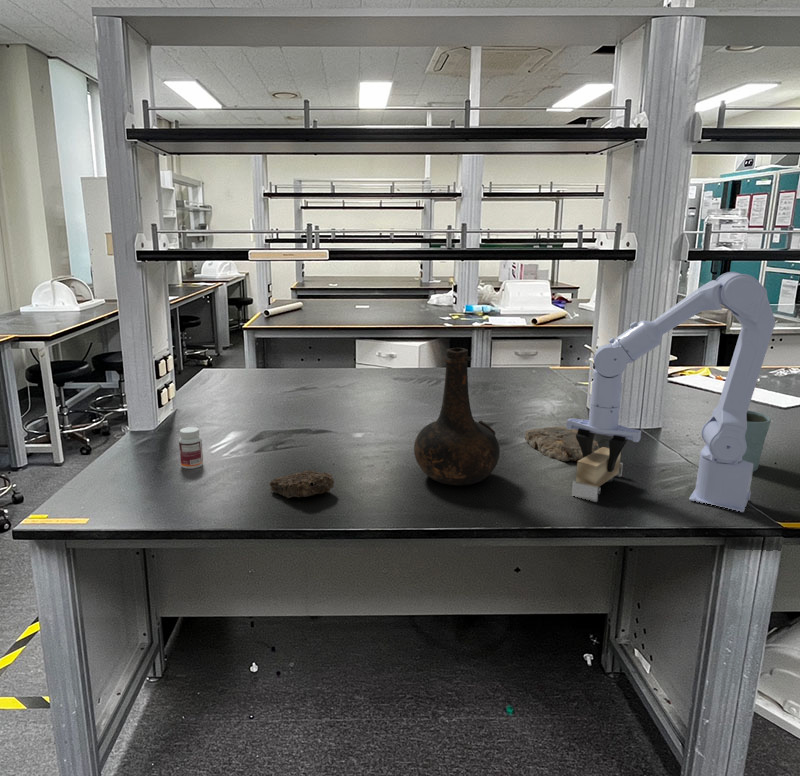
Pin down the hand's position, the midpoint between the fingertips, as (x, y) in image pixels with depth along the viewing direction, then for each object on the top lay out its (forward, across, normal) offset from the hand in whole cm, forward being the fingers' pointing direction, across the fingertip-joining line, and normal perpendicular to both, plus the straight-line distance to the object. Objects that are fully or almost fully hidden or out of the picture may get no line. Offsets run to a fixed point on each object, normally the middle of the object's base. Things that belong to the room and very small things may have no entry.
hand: (599, 467), depth 126 cm
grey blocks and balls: (+4, 0, 0) cm, 4 cm away
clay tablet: (+4, +13, -16) cm, 21 cm away
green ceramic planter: (+4, -22, -31) cm, 38 cm away
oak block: (+2, 0, 0) cm, 2 cm away
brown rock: (+4, +46, +39) cm, 61 cm away
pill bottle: (+4, +77, +43) cm, 88 cm away
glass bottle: (+4, +26, +14) cm, 30 cm away
